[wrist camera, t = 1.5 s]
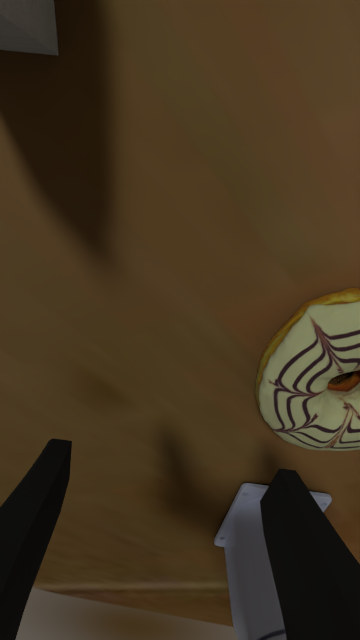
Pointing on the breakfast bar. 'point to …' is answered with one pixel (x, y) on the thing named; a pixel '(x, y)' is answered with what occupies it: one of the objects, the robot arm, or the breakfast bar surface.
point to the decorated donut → (314, 375)
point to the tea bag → (28, 26)
